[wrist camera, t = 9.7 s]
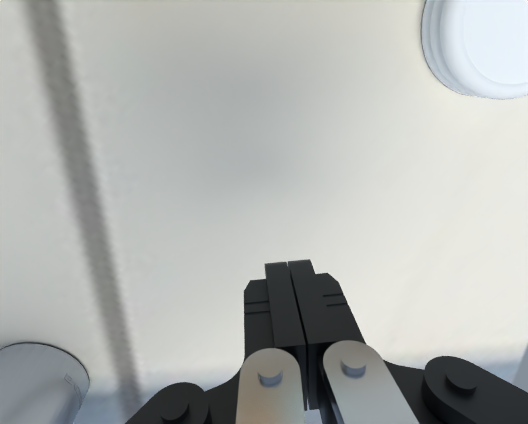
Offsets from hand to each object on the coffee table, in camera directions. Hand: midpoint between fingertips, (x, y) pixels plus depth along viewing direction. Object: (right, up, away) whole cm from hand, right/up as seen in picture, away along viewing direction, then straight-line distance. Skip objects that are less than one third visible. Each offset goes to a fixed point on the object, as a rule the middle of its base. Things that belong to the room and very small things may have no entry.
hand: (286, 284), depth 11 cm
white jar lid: (+14, +15, +11) cm, 24 cm away
